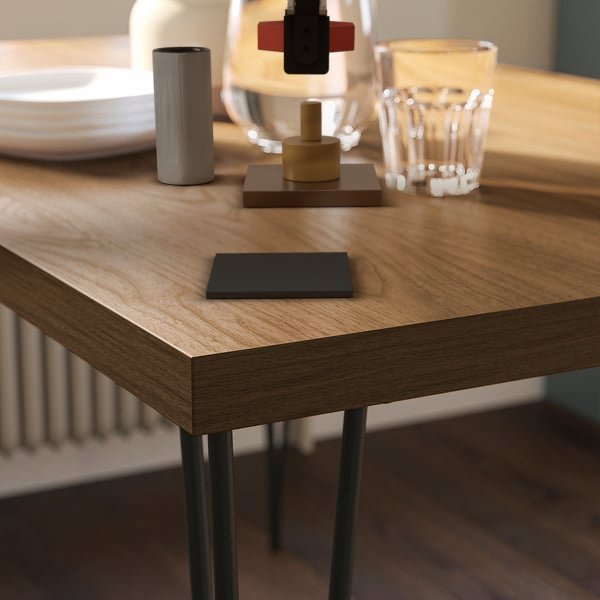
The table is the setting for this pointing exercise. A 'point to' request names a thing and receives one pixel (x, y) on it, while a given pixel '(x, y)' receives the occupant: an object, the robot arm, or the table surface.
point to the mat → (280, 275)
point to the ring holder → (311, 172)
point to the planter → (183, 115)
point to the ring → (273, 36)
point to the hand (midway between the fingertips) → (306, 66)
